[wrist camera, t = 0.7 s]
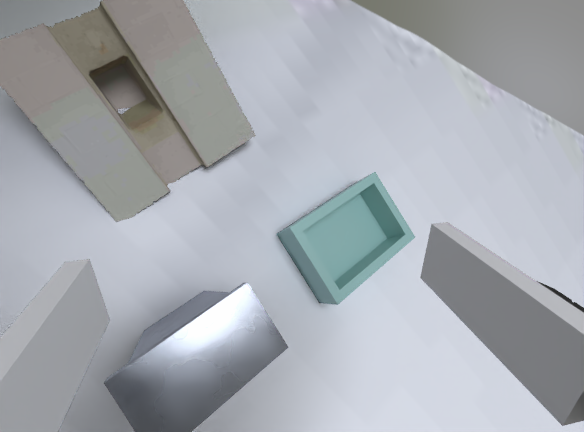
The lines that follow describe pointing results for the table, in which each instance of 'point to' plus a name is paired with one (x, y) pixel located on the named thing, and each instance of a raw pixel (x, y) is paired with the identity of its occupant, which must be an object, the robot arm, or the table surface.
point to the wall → (125, 98)
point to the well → (346, 239)
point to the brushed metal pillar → (195, 360)
